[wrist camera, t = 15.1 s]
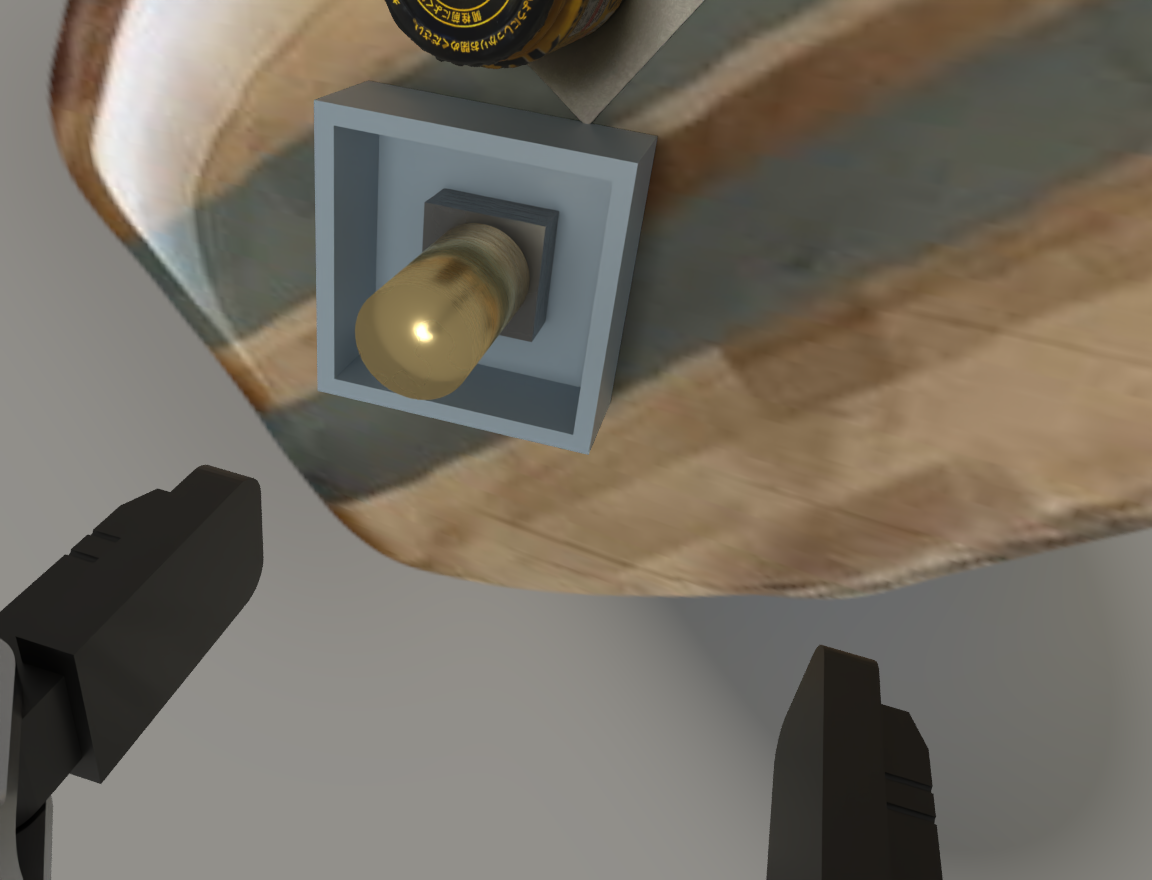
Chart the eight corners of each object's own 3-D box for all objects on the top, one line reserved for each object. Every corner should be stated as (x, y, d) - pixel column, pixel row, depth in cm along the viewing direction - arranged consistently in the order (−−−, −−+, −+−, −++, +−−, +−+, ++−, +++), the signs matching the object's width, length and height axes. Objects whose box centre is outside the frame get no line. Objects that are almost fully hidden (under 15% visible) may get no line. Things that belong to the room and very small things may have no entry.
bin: (368, 80, 39) (314, 99, 34) (657, 135, 37) (637, 163, 33) (364, 346, 45) (317, 390, 41) (610, 403, 44) (588, 454, 39)
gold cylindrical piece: (444, 188, 40) (344, 259, 31) (559, 211, 39) (489, 291, 31) (437, 298, 42) (344, 392, 34) (545, 321, 42) (477, 423, 33)
